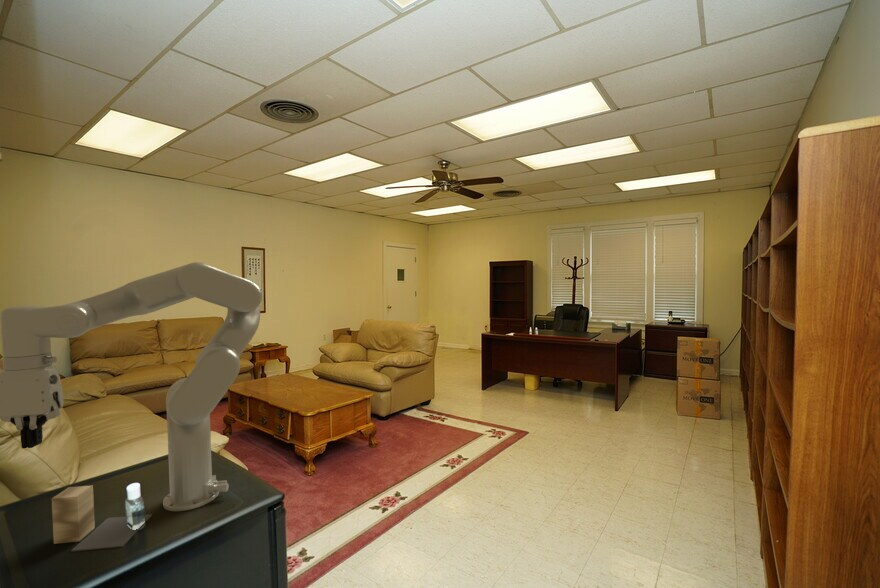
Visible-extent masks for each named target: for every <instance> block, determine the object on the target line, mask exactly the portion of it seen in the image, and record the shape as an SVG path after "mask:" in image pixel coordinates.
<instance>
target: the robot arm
mask: <svg viewBox="0 0 880 588" xmlns="http://www.w3.org/2000/svg"><path fill="white" fill-rule="evenodd" d="M193 298H197V299H200V300H202V301H205V302H207V303H211V304H214V305H217V306H220V307H224V308H227V311H226V312H227V313H226V317H225V318H224V320H223V322H222V324H221V325H220V327H219V328H218V329H217V331H216V332H215V333H214V335H213V336H212V337H211V338H210V339H209V341H208V342H207V344H206V345H205V346H204V347H203V348H202V349H201V351H200V352H198V354H197V355H196V359H195V366H194V368H193V369H192V371H191V372H190V373H189V374H188V375H187V376H186V377H184V378H183V377H182V378H181V379H179V380H176V381H175V382H174V383H172V384H171V385H170V387H169V388H168V390H167V393H166V396H165V405H166V406H165V410H166V423H167V424H166V426H167V451H168V479H169V480H168V481H169V483H168V484H169V493H168V494H167V495H166V496H165V497H164V498H163V500H162V507H163V508H164V510H166V511H170V512H186V511H191V510H194V509H197V508H200V507H203V506H205V505H207V504H209V503H211V502H213V501H214V500H215V499H216V498H217V497H218V496H219V494H220V493H221V492H222V493H223V492H225V493H226V492H228V491H229V488H230V487H229V486H230V485H229V483H228V481H227V479H226V480H225V479H224V480H218V479H217V475H216V474H214V475H213V470H212V469H213V465H212V444H211V443H212V440H211V438H212V436H211V435H212V434H211V413H212V412H213V411H214V410H215V408H216V407H217V405H218V404H219V403H220V401H221V400H222V398H223V397H224V396H225V395H226V393H227V392H228V390H229V389H230V388H231V386H232V384H234V382H235V380H236V379H237V377H238V375H239V373H240V369H241V359H240V357H241V356H242V354H243V353H244V351H246V348H247V346H248V345H249V343H250V342H251V340H252V339H253V337H255V334H256V332H257V330H258V328H259V326H260V322H261V307H260V305H261V303H262V300H263V292H262V290H261V288H260V286H259V285H258V284H256V283H255V282H254V281H252V280H250V279H247V278H244V277H241V276H238V275H236V274H232V273H230V272H227V271H224V270H222V269H219V268H218V267H214V266H212V265H209V264H206V263H203V262H190V263H188V264H185V265H181V266H178V267H175V268H171V269H169V270H165V271H162V272H158V273H156V274H155V273H154V274H153V275H149V276H145V277H143V278H139V279H135V280H133V281H130V282H127V283H126V284H124V285H121V286H120V287H117V288H115V289H112V290H109V291H107V292H104V293H100V294H96V295H94V296H90V297H87V298H84V299H81V300H76V301H75V302H74V301H73V302H70V303H66V304H62V305H54V306H47V307H46V306H43V305H22V306H21V305H20V306H9V307H6V308H4V309H2V310H1V313H0V331H1V350H2V369H3V370H2V371H0V421H1V422H7V423H11V424H13V426H15V427H16V430H17V431H19V432H20V443H21V449H33V448H34V447H37V446H38V445H41V444H42V443H43V438H44V437H43V426H45V425H46V423H47V422H48V421H50V420H53V419H55V418H58V417H60V416H61V412H60V409H62V408H63V407H64V403H65V402H64V393H63V385H62V380H61V377H60V373H59V370H58V368H57V366H54V365H53V364H55V363H56V362H57V359H58V358H57V357H56V356H52V346H51V343H52V342H51V338H53V339H55V338H57V339H74V338H78V337H81V336H83V335H84V334H86V333H87V332H89V331H91V330H95V329H97V328H100V327H104V326H106V325H109V324H113V323H114V322H117V321H120V320H124V319H127V318H130V317H135V316H143V315H148V314H151V313H154V312H157V311H159V310H163V309H165V308H168V307H171V306H174V305H177V304H179V303H183V302H186V301H189V300H192V299H193Z"/></svg>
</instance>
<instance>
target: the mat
mask: <svg viewBox="0 0 880 588" xmlns="http://www.w3.org/2000/svg"><path fill="white" fill-rule="evenodd" d="M144 515H145V522H146V521H147V522H148V521H149V520H150V519H151V518H152V516H153V513H150V514H144ZM147 522H146V523H147ZM137 532H139V530H138V529H136V530H132V529H130V528H129V527H128V526H127V521H126V516H117V517H114V516H113V517H108V518H106V519H105V520H104V521H103V522H101V523H100V524H99V525H98V526H97V527H96V528H94V529H93V530H92V531H91V532H90V533H88V534H87V535H86V536H85V537H84V538H83V539H82V540H80V541H79V543H78V544H76V546H74V547H73V548H72V549H71V552H83V551H84V552H85V551H91V550H103V549H104V550H105V549H112V548H122V547H124V546H125V544H127V543H128V541H130V540H131V539H132V538H133V536H134V535H135V534H137Z"/></svg>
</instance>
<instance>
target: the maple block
mask: <svg viewBox="0 0 880 588" xmlns="http://www.w3.org/2000/svg"><path fill="white" fill-rule="evenodd" d="M93 486H94V485H81V486H80V485H79V486H68V487H67V488H65V489H64V490H62V491H61V492H60V493H57V494H56V495H55V496H53V497H52V498H51V514H52V517H51V518H52V534H53V545H55V544H66V543H77V542H81V541H82V540H84V539H85V538H86V537H87V536H88V535H89V534H90V533H91V532H93V531H94V530H95V529H96V528H95V527H96V526H95V524H96V523H95V503H94V502H95V501H94V487H93Z"/></svg>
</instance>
